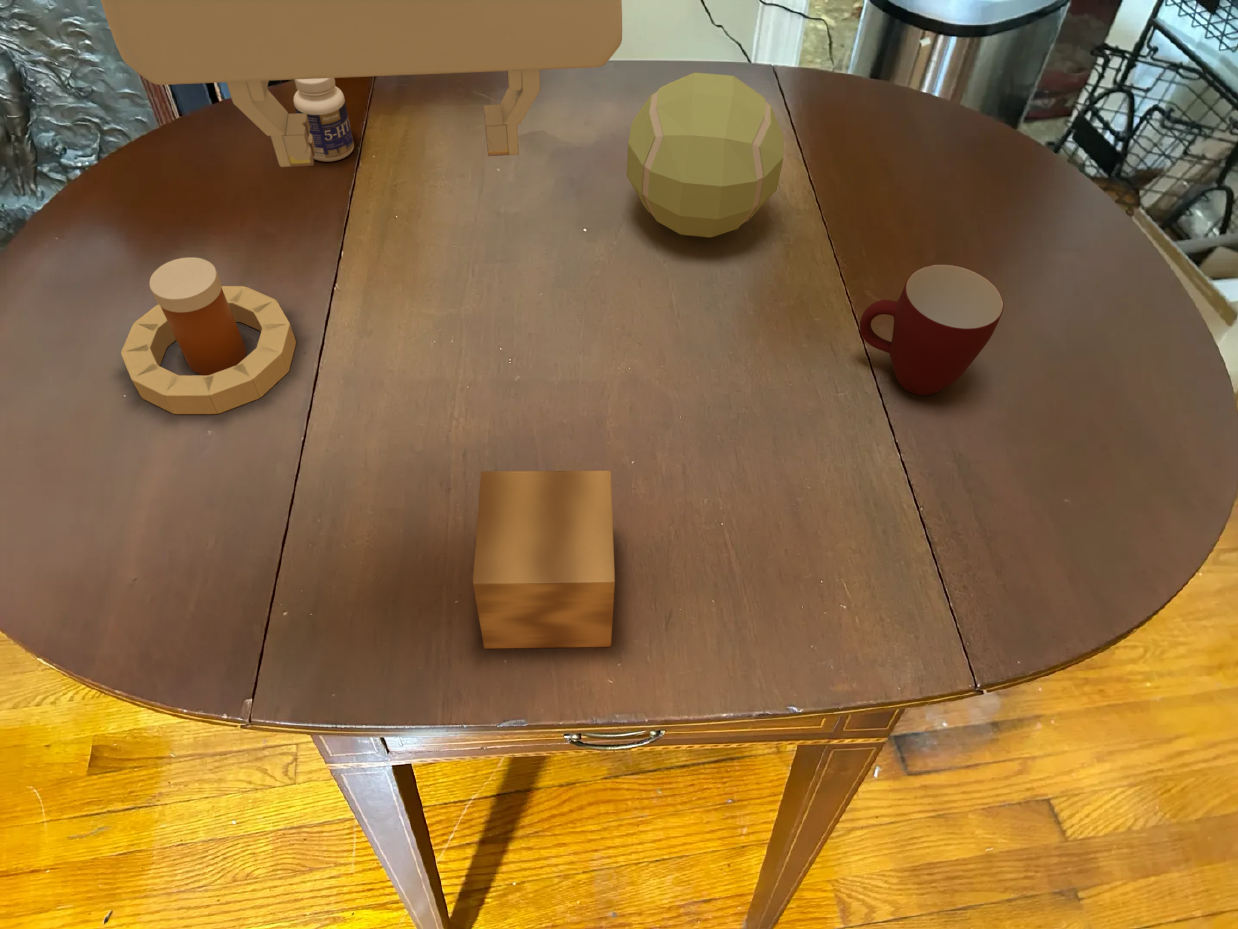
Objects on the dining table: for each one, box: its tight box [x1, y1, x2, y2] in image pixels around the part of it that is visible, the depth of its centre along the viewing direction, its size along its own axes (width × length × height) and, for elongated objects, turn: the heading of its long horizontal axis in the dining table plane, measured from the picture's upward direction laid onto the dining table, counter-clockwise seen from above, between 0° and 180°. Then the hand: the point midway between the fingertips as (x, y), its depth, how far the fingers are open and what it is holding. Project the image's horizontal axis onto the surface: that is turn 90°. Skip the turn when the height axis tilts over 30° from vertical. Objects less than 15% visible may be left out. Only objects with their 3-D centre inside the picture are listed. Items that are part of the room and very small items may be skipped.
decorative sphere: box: [626, 72, 785, 238], centre depth 90 cm, size 15×15×15 cm
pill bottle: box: [293, 78, 355, 163], centre depth 98 cm, size 5×5×9 cm
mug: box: [859, 263, 1005, 396], centre depth 79 cm, size 10×8×10 cm
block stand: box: [472, 470, 616, 649], centre depth 64 cm, size 9×9×9 cm
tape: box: [120, 285, 297, 415], centre depth 80 cm, size 14×14×2 cm
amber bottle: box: [148, 256, 247, 375], centre depth 78 cm, size 5×5×9 cm
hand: (401, 154), depth 43 cm, fingers open, 8 cm apart
